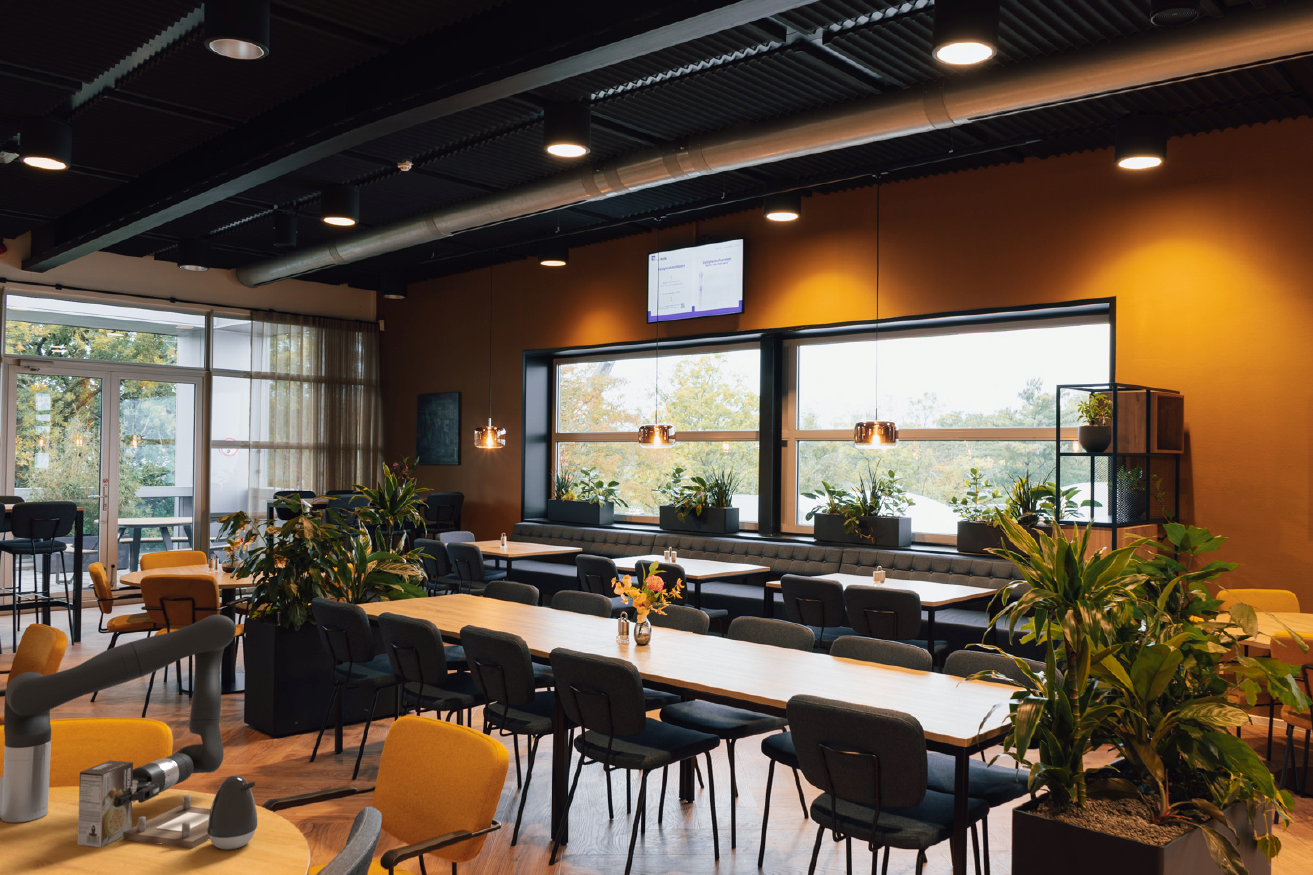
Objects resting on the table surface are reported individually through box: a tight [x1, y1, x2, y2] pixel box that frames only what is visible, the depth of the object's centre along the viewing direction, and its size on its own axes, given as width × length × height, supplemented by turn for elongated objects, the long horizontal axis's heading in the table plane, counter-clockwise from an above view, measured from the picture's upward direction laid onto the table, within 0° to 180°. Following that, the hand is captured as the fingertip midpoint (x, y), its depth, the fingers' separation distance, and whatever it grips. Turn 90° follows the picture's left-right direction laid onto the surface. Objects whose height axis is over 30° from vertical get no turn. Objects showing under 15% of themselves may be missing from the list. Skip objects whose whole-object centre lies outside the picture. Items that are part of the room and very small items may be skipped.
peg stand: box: [122, 794, 211, 849], centre depth 222 cm, size 18×18×4 cm
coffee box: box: [77, 759, 134, 848], centre depth 216 cm, size 9×6×16 cm
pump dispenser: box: [207, 775, 258, 851], centre depth 214 cm, size 10×10×15 cm
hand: (99, 800), depth 214 cm, fingers open, 8 cm apart
